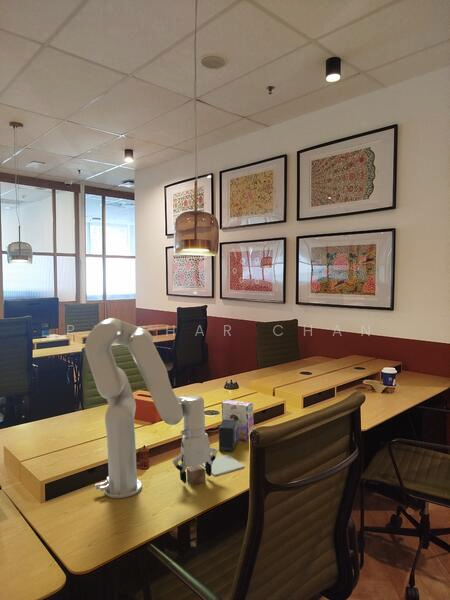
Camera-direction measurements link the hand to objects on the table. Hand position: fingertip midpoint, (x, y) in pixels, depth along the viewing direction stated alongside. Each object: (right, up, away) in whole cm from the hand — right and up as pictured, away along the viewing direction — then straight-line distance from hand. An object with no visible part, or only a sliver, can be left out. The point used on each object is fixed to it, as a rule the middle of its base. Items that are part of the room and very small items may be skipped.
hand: (196, 478), depth 146 cm
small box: (+12, 0, +30) cm, 33 cm away
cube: (0, -2, 0) cm, 2 cm away
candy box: (+16, 0, +41) cm, 44 cm away
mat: (+9, -1, +13) cm, 16 cm away
